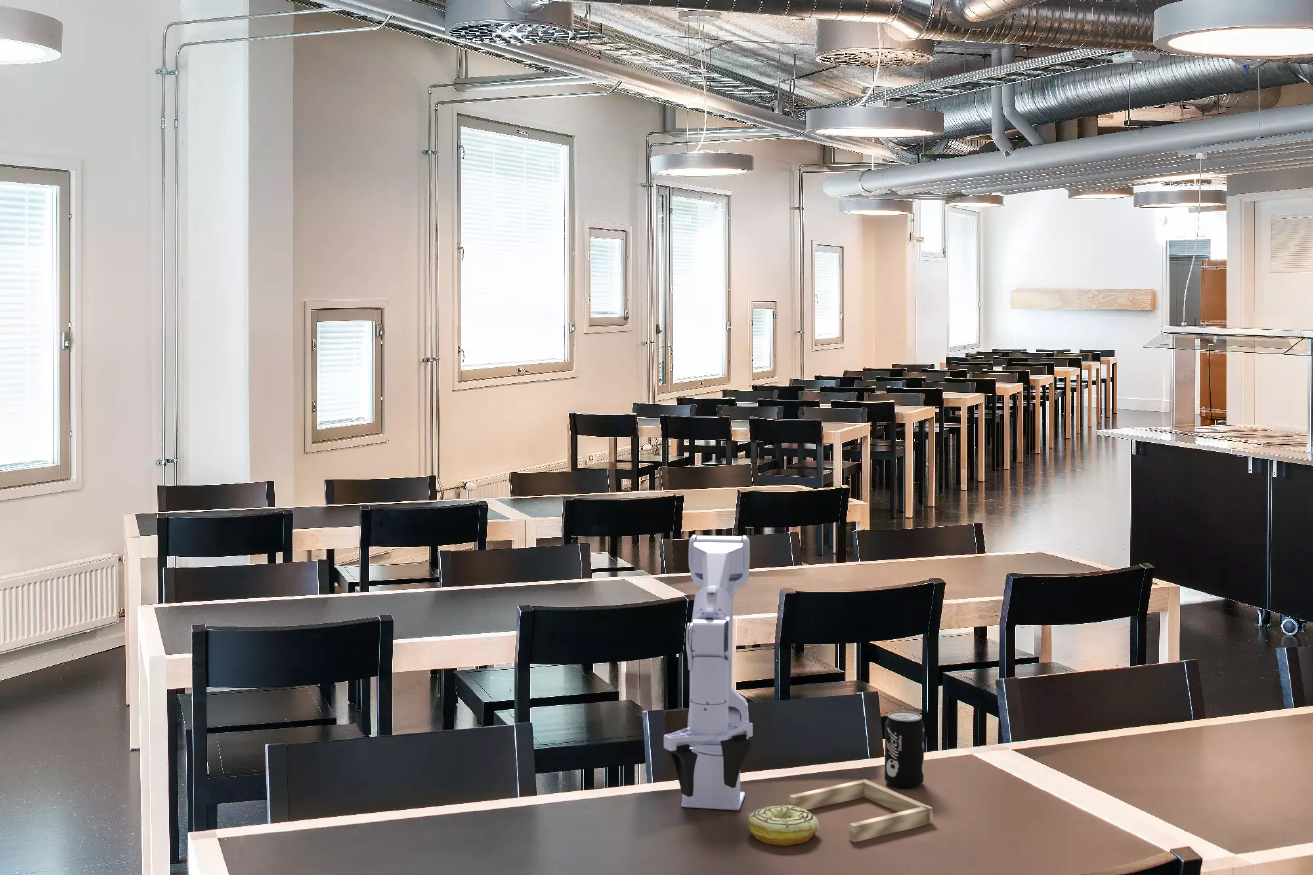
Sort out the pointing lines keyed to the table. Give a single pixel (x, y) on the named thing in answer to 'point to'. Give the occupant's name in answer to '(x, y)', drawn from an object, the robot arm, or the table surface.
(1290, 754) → the table surface
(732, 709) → the robot arm
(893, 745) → the beverage can
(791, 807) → the decorated donut
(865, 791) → the u-shaped wooden bracket
